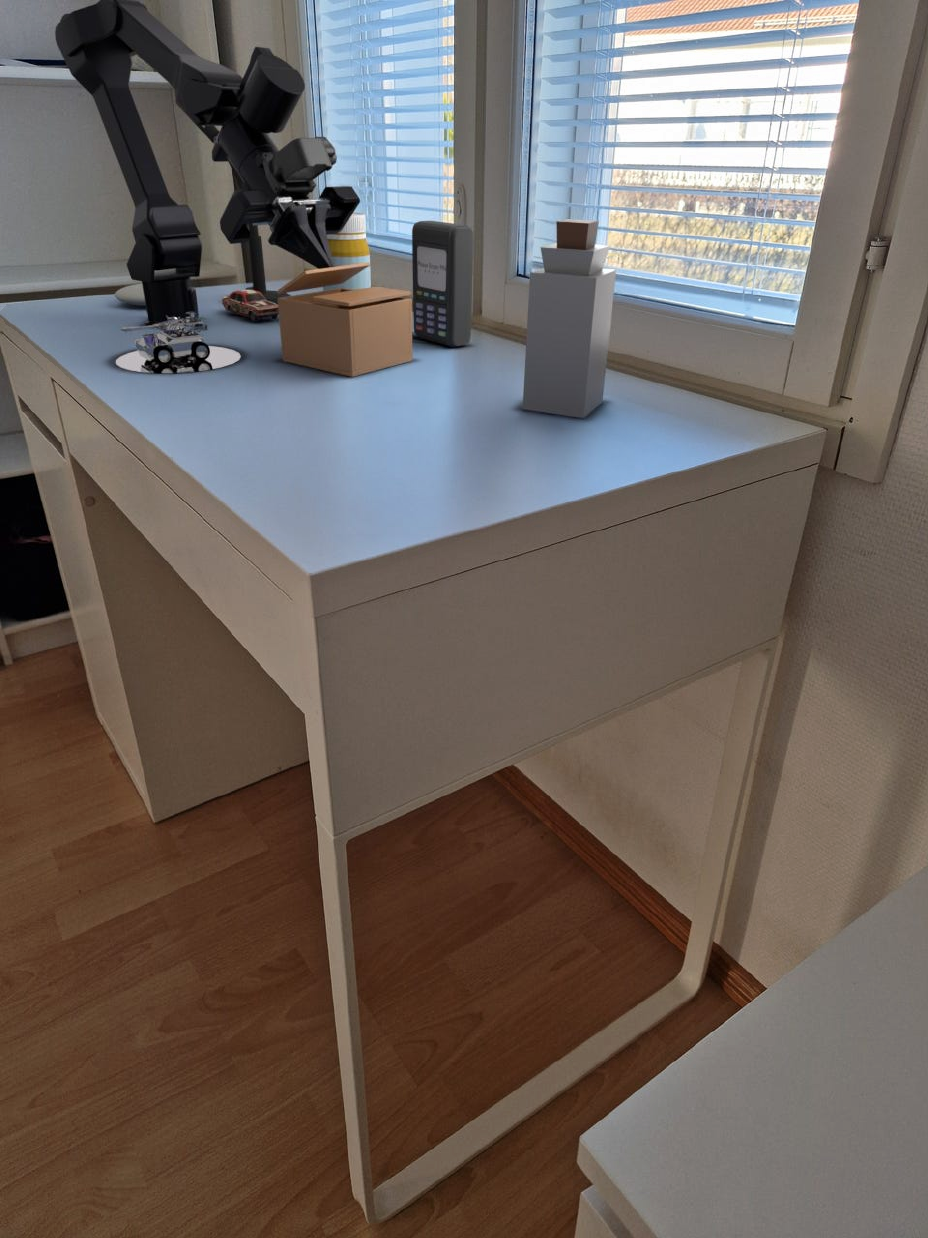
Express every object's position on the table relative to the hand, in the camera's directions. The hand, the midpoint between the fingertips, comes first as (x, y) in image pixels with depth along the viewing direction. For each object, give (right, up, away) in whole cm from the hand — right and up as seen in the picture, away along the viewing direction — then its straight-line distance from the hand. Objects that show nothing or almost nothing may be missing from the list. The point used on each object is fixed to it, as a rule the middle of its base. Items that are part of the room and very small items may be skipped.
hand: (330, 270), depth 101 cm
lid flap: (-1, -1, +1) cm, 2 cm away
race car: (-17, +4, +28) cm, 33 cm away
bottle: (-1, +2, +24) cm, 24 cm away
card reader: (+13, -4, +15) cm, 20 cm away
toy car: (-20, -10, +4) cm, 22 cm away
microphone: (-21, +14, +44) cm, 51 cm away
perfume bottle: (+27, -20, -11) cm, 35 cm away
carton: (+2, -10, +4) cm, 11 cm away
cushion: (-35, +9, +36) cm, 51 cm away
